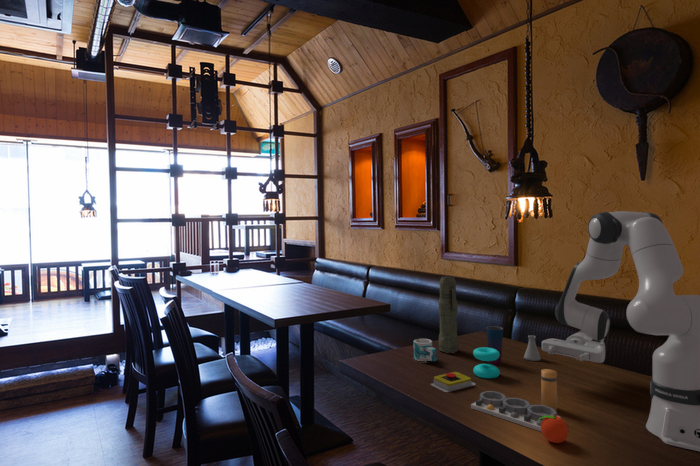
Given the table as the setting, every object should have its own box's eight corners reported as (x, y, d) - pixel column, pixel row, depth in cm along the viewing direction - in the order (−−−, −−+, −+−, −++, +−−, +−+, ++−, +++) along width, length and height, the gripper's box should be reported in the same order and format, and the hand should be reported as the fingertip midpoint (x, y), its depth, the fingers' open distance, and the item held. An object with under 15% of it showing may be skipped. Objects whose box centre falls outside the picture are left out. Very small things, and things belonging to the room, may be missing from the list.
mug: (425, 355, 198) (425, 337, 198) (441, 363, 187) (441, 344, 187) (410, 358, 195) (410, 339, 195) (426, 366, 184) (425, 346, 184)
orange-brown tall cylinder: (559, 408, 141) (559, 371, 140) (553, 412, 137) (553, 375, 137) (545, 404, 144) (544, 367, 144) (538, 408, 141) (538, 371, 141)
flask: (542, 361, 187) (542, 338, 187) (525, 361, 188) (524, 338, 188) (539, 356, 194) (538, 334, 194) (521, 356, 195) (521, 333, 195)
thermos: (449, 355, 198) (448, 278, 197) (433, 349, 208) (432, 276, 208) (464, 352, 201) (463, 277, 201) (448, 346, 212) (447, 274, 211)
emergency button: (429, 374, 163) (459, 367, 170) (429, 385, 163) (460, 378, 170) (445, 381, 155) (477, 374, 162) (445, 394, 155) (477, 386, 162)
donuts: (503, 353, 167) (476, 353, 167) (503, 379, 167) (477, 379, 167) (495, 346, 177) (470, 346, 177) (495, 370, 177) (470, 370, 177)
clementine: (537, 445, 118) (537, 418, 118) (536, 433, 124) (535, 408, 124) (570, 449, 115) (569, 423, 115) (567, 437, 122) (567, 412, 121)
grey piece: (560, 420, 132) (560, 410, 132) (545, 433, 124) (545, 422, 124) (487, 398, 149) (487, 389, 149) (470, 408, 142) (470, 398, 142)
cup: (505, 361, 188) (504, 327, 187) (501, 366, 182) (500, 330, 182) (489, 359, 191) (488, 325, 191) (484, 363, 186) (484, 328, 185)
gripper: (549, 332, 167) (534, 340, 157) (609, 343, 152) (596, 352, 142) (549, 348, 167) (534, 357, 158) (609, 361, 152) (596, 371, 143)
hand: (564, 355), depth 150 cm, fingers open, 8 cm apart
